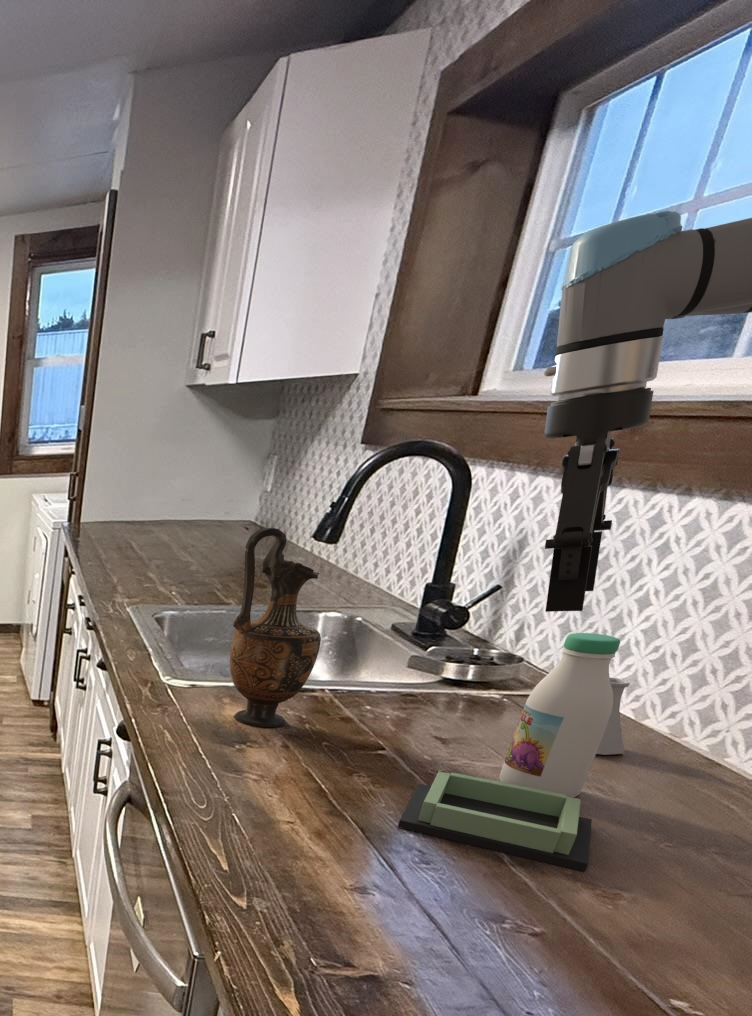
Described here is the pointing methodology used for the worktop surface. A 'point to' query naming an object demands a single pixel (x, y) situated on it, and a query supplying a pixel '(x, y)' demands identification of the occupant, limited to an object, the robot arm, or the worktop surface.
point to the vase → (272, 637)
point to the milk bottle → (564, 719)
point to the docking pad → (502, 818)
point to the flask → (614, 722)
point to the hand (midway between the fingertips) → (570, 600)
